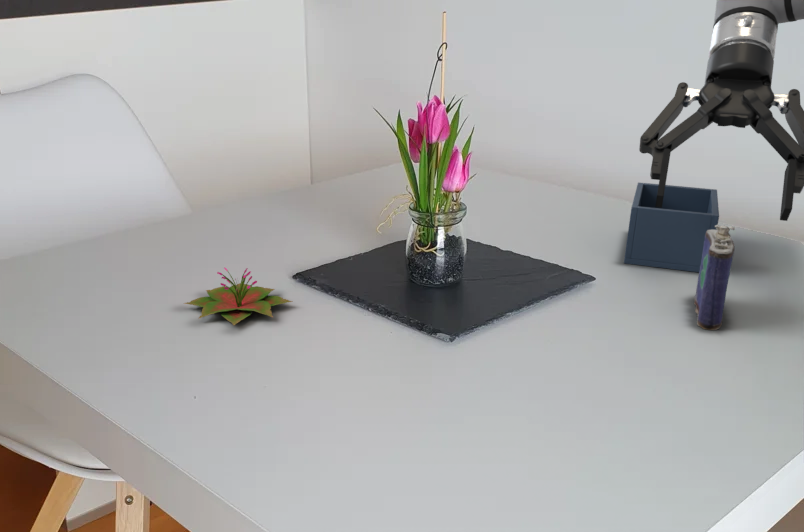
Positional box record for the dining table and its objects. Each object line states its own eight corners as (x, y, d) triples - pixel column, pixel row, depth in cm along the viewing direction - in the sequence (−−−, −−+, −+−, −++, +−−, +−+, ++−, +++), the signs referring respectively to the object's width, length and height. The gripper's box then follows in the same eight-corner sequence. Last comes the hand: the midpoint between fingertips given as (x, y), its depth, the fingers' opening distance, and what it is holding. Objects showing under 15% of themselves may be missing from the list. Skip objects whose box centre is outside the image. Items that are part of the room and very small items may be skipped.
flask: (692, 298, 101) (708, 212, 96) (718, 301, 100) (735, 215, 96) (696, 328, 93) (713, 236, 88) (724, 332, 92) (743, 239, 88)
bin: (707, 242, 120) (717, 189, 117) (708, 273, 108) (719, 215, 105) (630, 233, 124) (637, 182, 121) (623, 263, 112) (631, 207, 109)
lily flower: (311, 306, 98) (311, 270, 96) (232, 338, 89) (230, 299, 88) (243, 281, 105) (242, 246, 103) (165, 308, 97) (161, 271, 95)
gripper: (637, 35, 105) (610, 180, 98) (862, 44, 97) (851, 203, 90) (634, 73, 111) (609, 211, 104) (845, 85, 103) (833, 236, 96)
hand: (721, 208), depth 97 cm, fingers open, 13 cm apart
